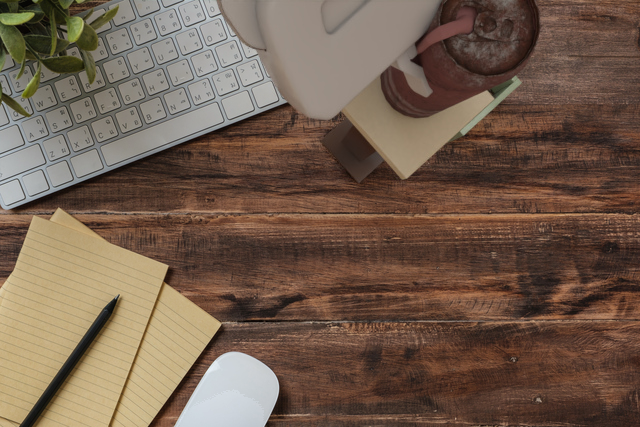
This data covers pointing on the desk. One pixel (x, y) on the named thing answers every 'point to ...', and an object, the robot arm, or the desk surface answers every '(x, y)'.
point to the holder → (491, 104)
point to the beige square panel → (408, 127)
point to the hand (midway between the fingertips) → (455, 61)
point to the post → (352, 150)
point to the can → (466, 53)
